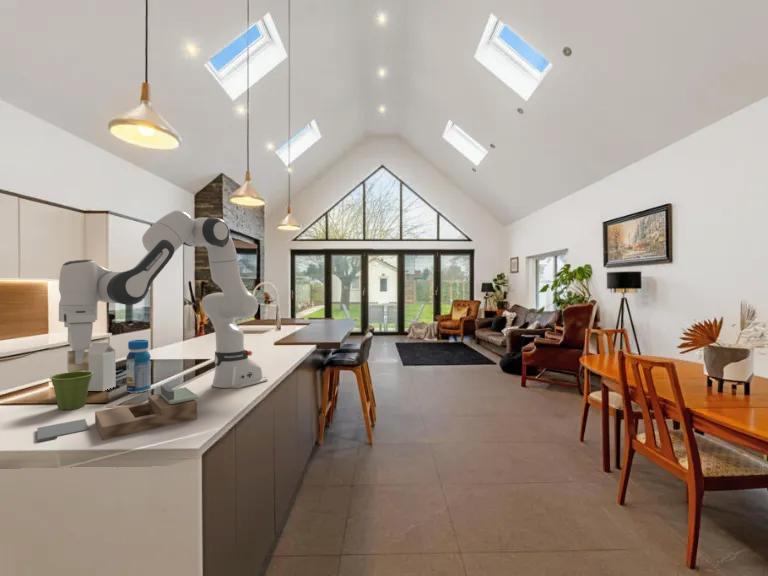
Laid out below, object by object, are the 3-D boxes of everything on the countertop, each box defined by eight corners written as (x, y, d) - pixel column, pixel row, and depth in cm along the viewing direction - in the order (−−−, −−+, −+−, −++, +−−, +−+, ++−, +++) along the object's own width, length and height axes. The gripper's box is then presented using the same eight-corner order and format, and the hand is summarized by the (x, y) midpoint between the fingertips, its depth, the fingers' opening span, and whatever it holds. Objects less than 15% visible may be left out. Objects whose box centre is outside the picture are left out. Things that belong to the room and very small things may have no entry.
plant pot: (66, 414, 124) (66, 380, 124) (40, 411, 128) (40, 377, 127) (102, 403, 136) (101, 372, 136) (77, 400, 139) (77, 369, 139)
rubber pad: (85, 421, 118) (85, 418, 118) (88, 431, 110) (88, 428, 110) (37, 430, 111) (37, 427, 111) (37, 442, 103) (37, 439, 103)
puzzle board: (181, 407, 132) (181, 390, 132) (196, 420, 119) (196, 401, 119) (95, 424, 116) (95, 405, 116) (102, 442, 103) (102, 420, 103)
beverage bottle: (146, 392, 149) (146, 342, 148) (122, 394, 147) (121, 342, 146) (154, 387, 157) (154, 338, 157) (131, 388, 155) (130, 339, 155)
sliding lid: (185, 389, 131) (185, 380, 131) (198, 398, 121) (198, 388, 121) (159, 394, 126) (159, 384, 126) (170, 404, 116) (170, 393, 115)
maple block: (86, 367, 114) (86, 349, 114) (88, 370, 111) (88, 351, 111) (67, 369, 111) (67, 351, 111) (68, 372, 108) (68, 353, 108)
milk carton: (102, 392, 150) (102, 344, 149) (85, 392, 150) (84, 344, 149) (115, 387, 157) (115, 341, 156) (98, 387, 157) (98, 341, 157)
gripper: (61, 313, 116) (61, 358, 116) (67, 317, 101) (66, 369, 101) (87, 312, 121) (87, 355, 121) (96, 316, 106) (96, 366, 106)
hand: (78, 362), depth 111 cm, fingers closed on maple block, 4 cm apart
